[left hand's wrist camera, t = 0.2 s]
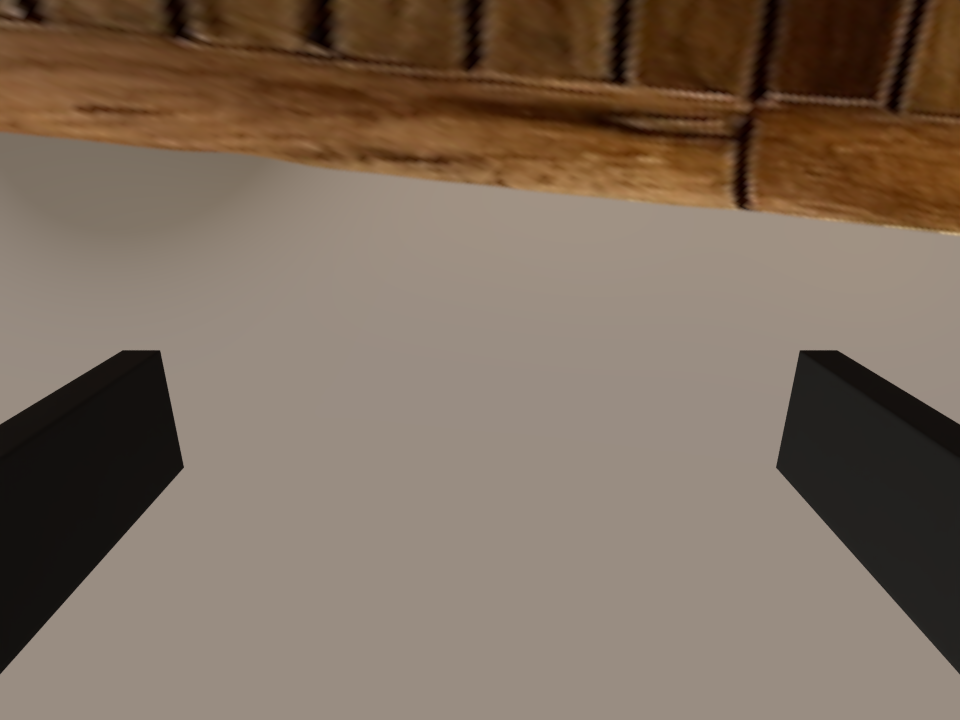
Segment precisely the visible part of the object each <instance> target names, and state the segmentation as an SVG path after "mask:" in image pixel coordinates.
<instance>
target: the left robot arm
mask: <svg viewBox="0 0 960 720" xmlns="http://www.w3.org/2000/svg"><path fill="white" fill-rule="evenodd" d="M183 468H184V466H183V461H182V456H181V451H180V446H179V441H178V436H177V431H176V426H175V422H174V417H173V412H172V407H171V402H170V397H169V392H168V387H167V382H166V377H165V372H164V367H163V362H162V358H161V353H160V351H159V350H123V351H121V352H119V353H118V354H116V355H114V356H113V357H111V358H109V359H108V360H106V361H105V362H103V363H101V364H100V365H98V366H96V367H95V368H93V369H91V370H90V371H88V372H86V373H85V374H83V375H81V376H80V377H78V378H76V379H75V380H73V381H71V382H70V383H68V384H67V385H65V386H63V387H62V388H60V389H58V390H57V391H55V392H53V393H52V394H50V395H48V396H47V397H45V398H43V399H42V400H40V401H38V402H37V403H35V404H33V405H32V406H30V407H28V408H27V409H25V410H23V411H22V412H20V413H19V414H17V415H15V416H14V417H12V418H10V419H9V420H7V421H5V422H4V423H2V424H0V674H1V673H2V671H3V670H4V669H5V668H6V667H7V666H8V665H9V664H10V662H11V661H12V660H13V659H14V658H15V657H16V656H17V655H18V654H19V652H20V651H21V650H22V649H23V648H24V647H25V646H26V645H27V643H28V642H29V641H30V640H31V639H32V638H33V637H34V636H35V634H36V633H37V632H38V631H39V630H40V629H41V628H42V627H43V625H44V624H45V623H46V622H47V621H48V620H49V619H50V618H51V616H52V615H53V614H54V613H55V612H56V611H57V610H58V609H59V607H60V606H61V605H62V604H63V603H64V602H65V601H66V599H67V598H68V597H69V596H70V595H71V594H72V593H73V592H74V591H75V589H76V588H77V587H78V586H79V585H80V584H81V583H82V581H83V580H84V579H85V578H86V577H87V576H88V575H89V574H90V572H91V571H92V570H93V569H94V568H95V567H96V566H97V565H98V563H99V562H100V561H101V560H102V559H103V558H104V557H105V556H106V555H107V553H108V552H109V551H110V550H111V549H112V548H113V547H114V546H115V544H116V543H117V542H118V541H119V540H120V539H121V538H122V536H123V535H124V534H125V533H126V532H127V531H128V530H129V529H130V527H131V526H132V525H133V524H134V523H135V522H136V521H137V520H138V518H139V517H140V516H141V515H142V514H143V513H144V512H145V511H146V509H147V508H148V507H149V506H150V505H151V504H152V503H153V502H154V500H155V499H156V498H157V497H158V496H159V495H160V494H161V493H162V491H163V490H164V489H165V488H166V487H167V486H168V485H169V484H170V482H171V481H172V480H173V479H174V478H175V477H176V476H177V475H178V473H179V472H180V471H181V470H182V469H183ZM776 468H777V469H778V470H779V471H780V472H781V473H782V475H783V476H784V477H785V478H786V479H787V480H788V481H789V482H790V484H791V485H792V486H793V487H794V488H795V489H796V490H797V491H798V493H799V494H800V495H801V496H802V497H803V498H804V499H805V500H806V502H807V503H808V504H809V505H810V506H811V507H812V508H813V509H814V511H815V512H816V513H817V514H818V515H819V516H820V517H821V518H822V520H823V521H824V522H825V523H826V524H827V525H828V526H829V528H830V529H831V530H832V531H833V532H834V533H835V534H836V535H837V536H838V538H839V539H840V540H841V541H842V542H843V543H844V544H845V546H846V547H847V548H848V549H849V550H850V551H851V552H852V553H853V554H854V556H855V557H856V558H857V559H858V560H859V561H860V562H861V564H862V565H863V566H864V567H865V568H866V569H867V570H868V571H869V573H870V574H871V575H872V576H873V577H874V578H875V579H876V580H877V581H878V583H879V584H880V585H881V586H882V587H883V588H884V589H885V590H886V592H887V593H888V594H889V595H890V596H891V597H892V598H893V600H894V601H895V602H896V603H897V604H898V605H899V606H900V607H901V608H902V610H903V611H904V612H905V613H906V614H907V615H908V616H909V618H910V619H911V620H912V621H913V622H914V623H915V624H916V625H917V627H918V628H919V629H920V630H921V631H922V632H923V633H924V634H925V636H926V637H927V638H928V639H929V640H930V641H931V642H932V643H933V645H934V646H935V647H936V648H937V649H938V650H939V651H940V652H941V654H942V655H943V656H944V657H945V658H946V659H947V660H948V661H949V663H950V664H951V665H952V666H953V667H954V668H955V669H956V670H957V672H958V673H959V674H960V424H958V423H956V422H955V421H953V420H951V419H950V418H948V417H946V416H945V415H943V414H941V413H940V412H938V411H937V410H935V409H933V408H931V407H930V406H928V405H926V404H925V403H923V402H922V401H920V400H918V399H917V398H915V397H913V396H912V395H910V394H908V393H907V392H905V391H903V390H902V389H900V388H898V387H897V386H895V385H894V384H892V383H890V382H889V381H887V380H885V379H884V378H882V377H880V376H879V375H877V374H875V373H874V372H872V371H870V370H869V369H867V368H865V367H864V366H862V365H860V364H859V363H857V362H855V361H854V360H852V359H851V358H849V357H847V356H846V355H844V354H842V353H841V352H839V351H837V350H801V351H800V353H799V358H798V362H797V367H796V372H795V377H794V382H793V387H792V392H791V397H790V402H789V407H788V412H787V417H786V422H785V426H784V431H783V436H782V441H781V446H780V451H779V456H778V461H777V466H776Z"/></svg>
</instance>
